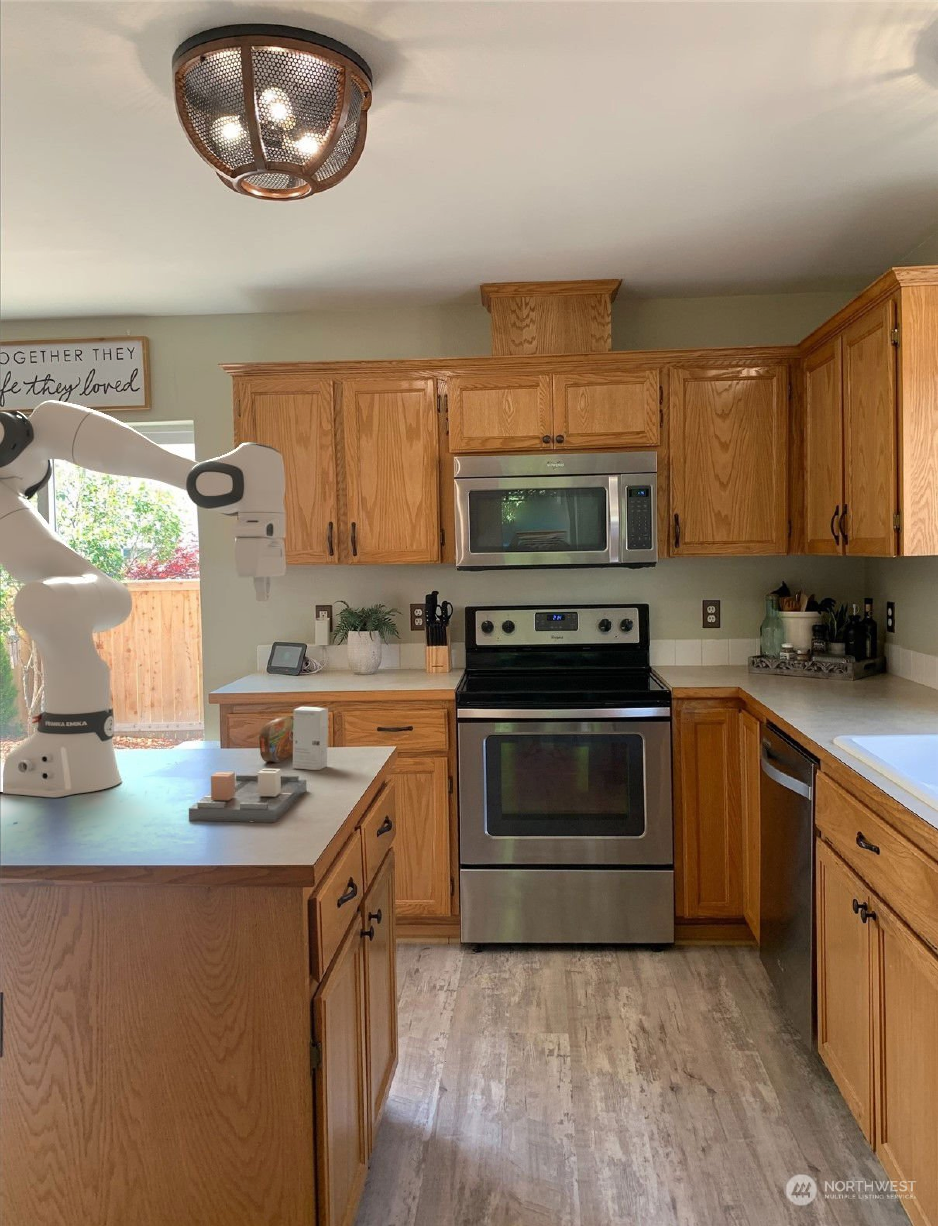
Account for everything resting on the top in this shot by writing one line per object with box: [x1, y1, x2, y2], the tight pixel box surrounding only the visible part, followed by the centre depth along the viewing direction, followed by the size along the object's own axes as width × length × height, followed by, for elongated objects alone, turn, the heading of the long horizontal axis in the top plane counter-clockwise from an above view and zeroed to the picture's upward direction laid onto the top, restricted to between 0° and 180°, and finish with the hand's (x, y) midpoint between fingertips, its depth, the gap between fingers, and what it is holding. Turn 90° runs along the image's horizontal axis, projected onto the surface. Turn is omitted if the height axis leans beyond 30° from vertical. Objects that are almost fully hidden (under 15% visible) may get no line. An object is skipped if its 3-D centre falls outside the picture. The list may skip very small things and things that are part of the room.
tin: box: [258, 715, 294, 764], centre depth 190 cm, size 15×3×8 cm, turn 168°
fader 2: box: [257, 768, 282, 797], centre depth 152 cm, size 3×3×4 cm
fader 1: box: [210, 771, 236, 800], centre depth 150 cm, size 3×3×4 cm
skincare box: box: [292, 706, 329, 771], centre depth 181 cm, size 6×4×12 cm
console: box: [188, 774, 307, 824], centre depth 154 cm, size 14×20×3 cm
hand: (263, 600), depth 172 cm, fingers closed
